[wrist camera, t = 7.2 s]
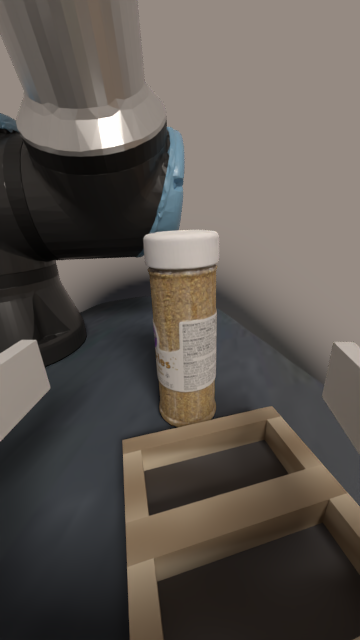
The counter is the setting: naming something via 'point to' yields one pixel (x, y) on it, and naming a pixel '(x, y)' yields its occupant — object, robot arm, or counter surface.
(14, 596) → the counter surface
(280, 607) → the slotted wooden board
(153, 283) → the sprinkles bottle
